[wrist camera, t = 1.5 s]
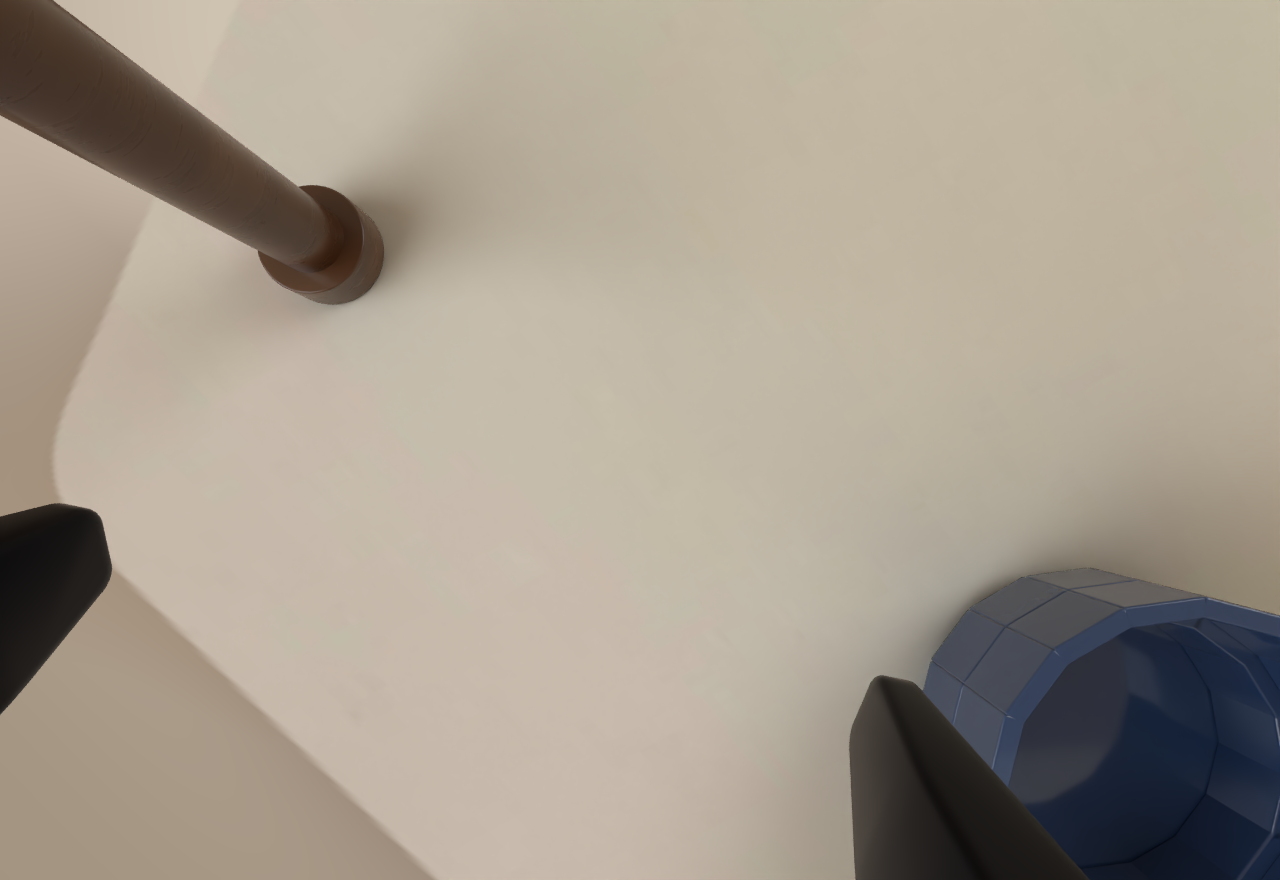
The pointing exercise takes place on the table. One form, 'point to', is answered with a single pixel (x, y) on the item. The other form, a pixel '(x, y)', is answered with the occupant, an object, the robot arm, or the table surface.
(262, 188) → the muddler
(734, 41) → the table surface
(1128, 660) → the bowl
